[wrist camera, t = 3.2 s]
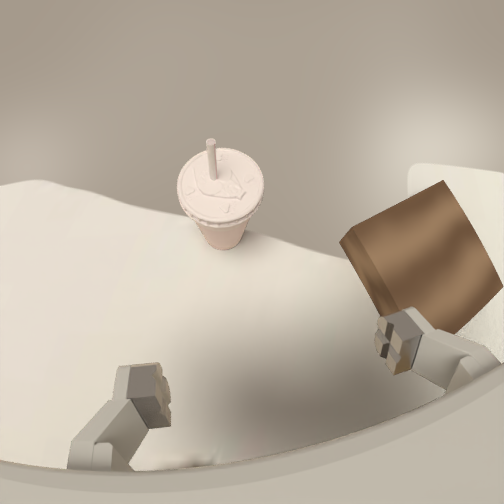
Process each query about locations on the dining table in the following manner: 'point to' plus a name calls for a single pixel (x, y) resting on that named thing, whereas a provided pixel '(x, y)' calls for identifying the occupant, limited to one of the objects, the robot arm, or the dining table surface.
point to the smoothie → (220, 193)
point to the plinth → (424, 260)
